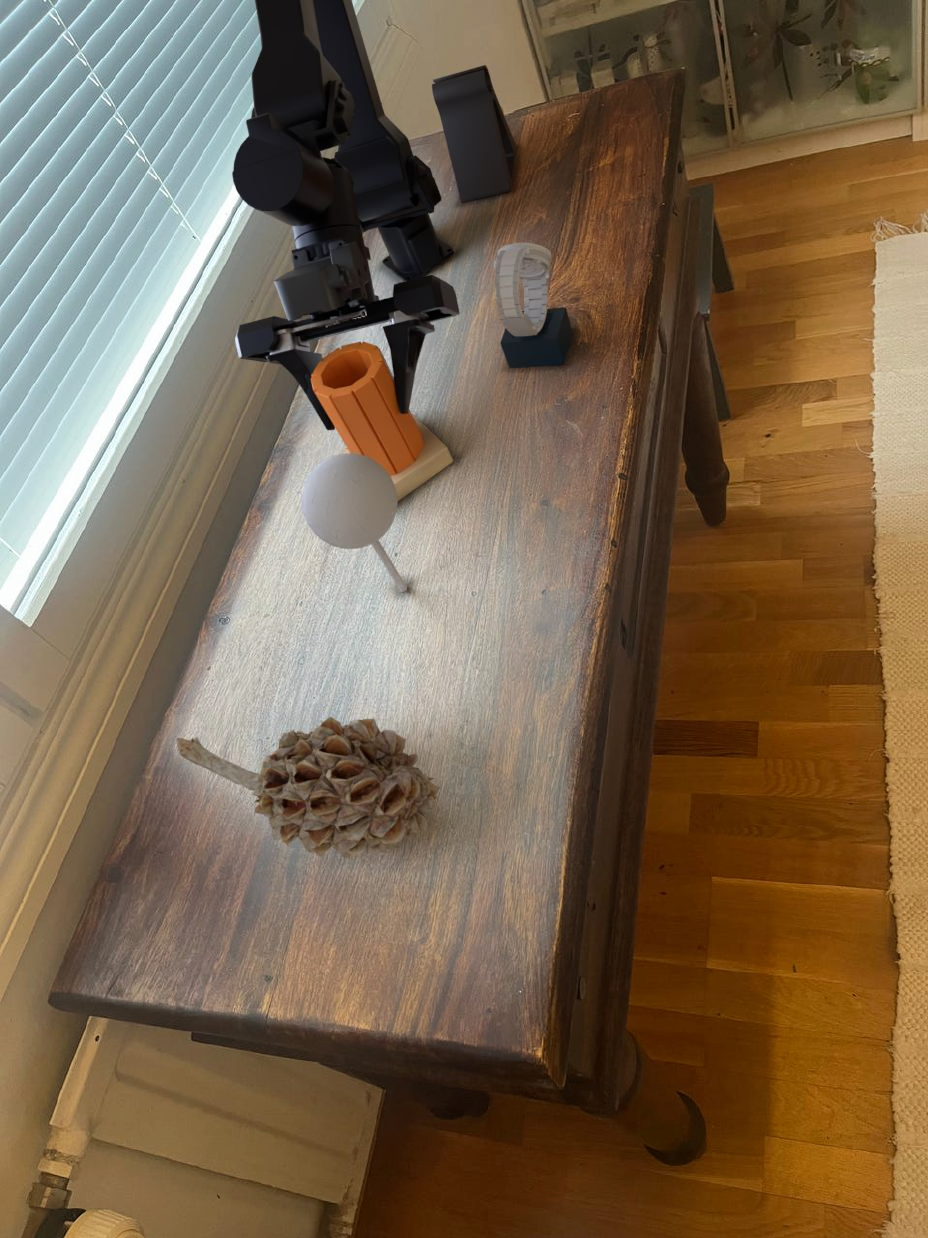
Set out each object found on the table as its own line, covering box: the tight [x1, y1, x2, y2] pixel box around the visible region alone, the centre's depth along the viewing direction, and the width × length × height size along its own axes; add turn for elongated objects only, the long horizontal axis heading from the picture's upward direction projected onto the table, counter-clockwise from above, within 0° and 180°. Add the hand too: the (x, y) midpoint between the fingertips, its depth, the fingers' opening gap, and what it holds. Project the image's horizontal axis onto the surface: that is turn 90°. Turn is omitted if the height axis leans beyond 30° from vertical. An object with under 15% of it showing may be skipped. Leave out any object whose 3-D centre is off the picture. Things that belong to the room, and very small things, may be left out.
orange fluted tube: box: [311, 341, 424, 476], centre depth 82 cm, size 6×7×10 cm
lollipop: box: [300, 453, 408, 593], centre depth 72 cm, size 7×7×15 cm
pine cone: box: [175, 716, 441, 860], centre depth 65 cm, size 22×10×10 cm, turn 74°
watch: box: [493, 242, 574, 369], centre depth 85 cm, size 6×8×11 cm
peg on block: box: [336, 413, 454, 503], centre depth 84 cm, size 8×8×8 cm
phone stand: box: [431, 64, 518, 204], centre depth 105 cm, size 9×6×12 cm, turn 173°
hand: (367, 421), depth 81 cm, fingers closed on orange fluted tube, 6 cm apart
